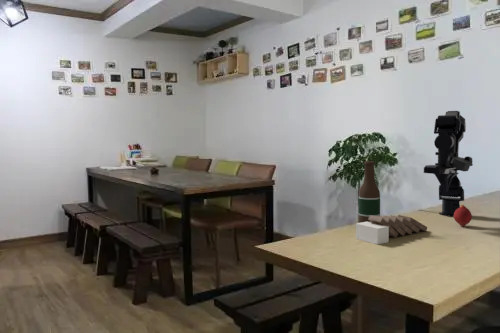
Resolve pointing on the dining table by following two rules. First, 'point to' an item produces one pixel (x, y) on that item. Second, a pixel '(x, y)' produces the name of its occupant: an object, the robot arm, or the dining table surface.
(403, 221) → the domino
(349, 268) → the dining table surface
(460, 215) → the onion
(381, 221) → the domino
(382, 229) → the end block
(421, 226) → the domino
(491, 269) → the dining table surface
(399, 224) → the domino
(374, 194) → the beer bottle
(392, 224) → the domino
